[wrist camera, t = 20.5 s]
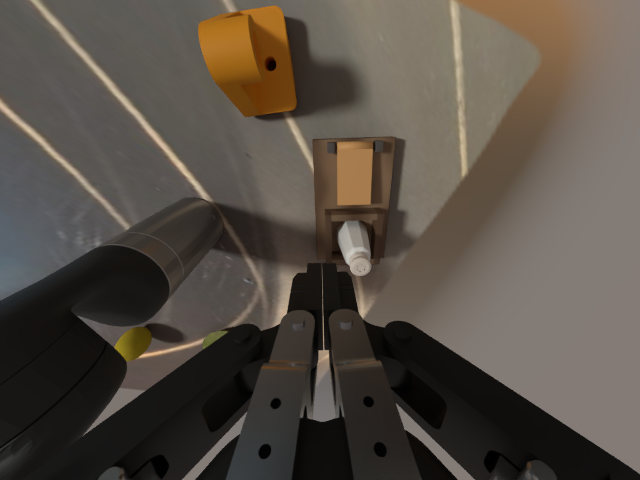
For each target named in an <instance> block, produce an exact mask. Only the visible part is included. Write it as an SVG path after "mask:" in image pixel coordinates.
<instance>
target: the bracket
mask: <svg viewBox="0 0 640 480" xmlns="http://www.w3.org/2000/svg"><path fill="white" fill-rule="evenodd" d="M198 33H199V40H200V45H201V49H202V53H203V56H204V59H205V62H206V65H207V67H208V69H209V72H210V74H211V76H212V78H213V79H214V81H215V82H216V84H217V85H218V86H219V87H220V88H221V90H222V91H223V92H224V93H225V94H226V95H227V97H228V98H229V99H230V100H231V101H232V102H233V103H234V105H235V106H236V107H237V108H238V109H239V110H240V112H241V113H242V114H243V115H244V116H245V117H250V116H257V115H265V114H272V113H279V112H286V111H292V110H294V109H295V108H296V106H297V98H296V91H295V89H296V88H295V81H294V74H293V67H292V60H291V53H290V46H289V39H288V35H287V28H286V21H285V18H284V15H283V12H282V10H281V9H280V8H279V7H277V6H269V7H263V8H256V9H250V10H244V11H238V12H232V13H226V14H220V15H218V16H215V17H213V18H210V19H208V20H205V21H202V22H200V24H199V27H198ZM271 61H275V62H276V68H275V70H274V71H269V70H268V65H269V63H270V62H271Z"/></svg>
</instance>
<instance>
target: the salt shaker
mask: <svg viewBox="0 0 640 480" xmlns="http://www.w3.org/2000/svg"><path fill="white" fill-rule="evenodd" d="M337 241H338V244H339V246H340V249H341V252H342V254H343V257H344V259H345V261H346V263H347V264H348V265H350V270H351V272H352V273H353V274H354V275H357V276H363V275H366V274H367V273H369V272H370V270H371V263H370V255H371V252H370V246H369V240H368V234H367V228H366V227H365V226H364V225H363V224H362V223H361V222H360V221H344V222H343V223H342V224H341V225H340V226H339V227H338V228H337Z"/></svg>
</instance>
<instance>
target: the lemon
mask: <svg viewBox="0 0 640 480" xmlns="http://www.w3.org/2000/svg"><path fill="white" fill-rule="evenodd" d="M151 340H152V335H151V332H150V331H149V330H148V328H144V327H135V328H132V329H130V330H129V331H127V332H126V333H124V334H123V335H122V336H121V338H120V339H119V340H118V342H117V344H116V346H115V349H116V350H117V351H118V352H119V353H120V354H121V355H122V356H123V357H124V359H125V360H126V361H132V360H134V359H136V358H138V357H139V356H141V355H142V354H143V353H144V352H145V351H146V350H147V348H148V347H149V345H150V343H151Z"/></svg>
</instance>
